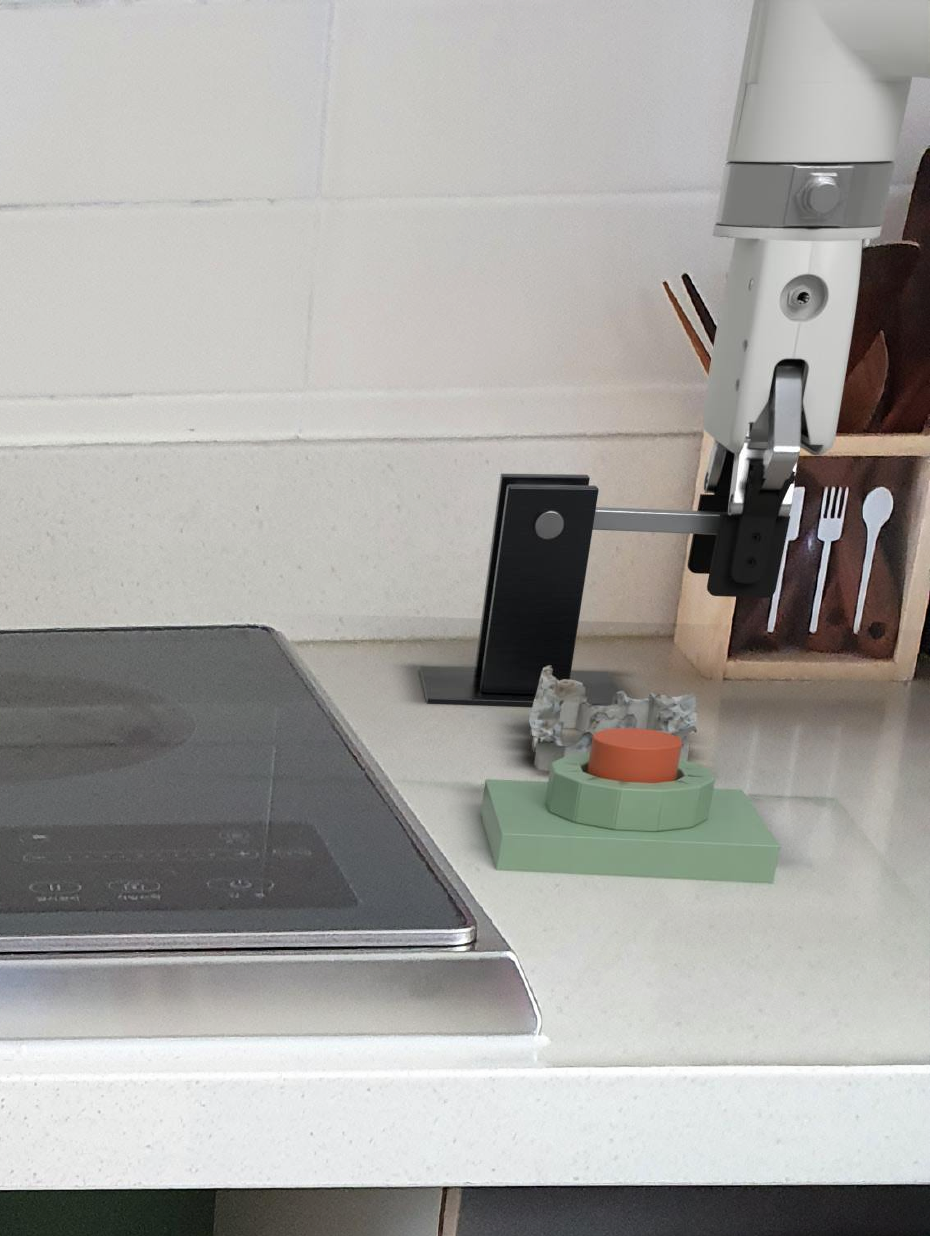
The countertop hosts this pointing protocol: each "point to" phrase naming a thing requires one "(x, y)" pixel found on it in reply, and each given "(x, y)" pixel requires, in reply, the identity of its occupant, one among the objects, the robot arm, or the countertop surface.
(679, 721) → the egg carton
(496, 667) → the bracket
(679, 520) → the lever
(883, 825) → the countertop surface
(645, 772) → the button
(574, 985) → the countertop surface
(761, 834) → the button box
